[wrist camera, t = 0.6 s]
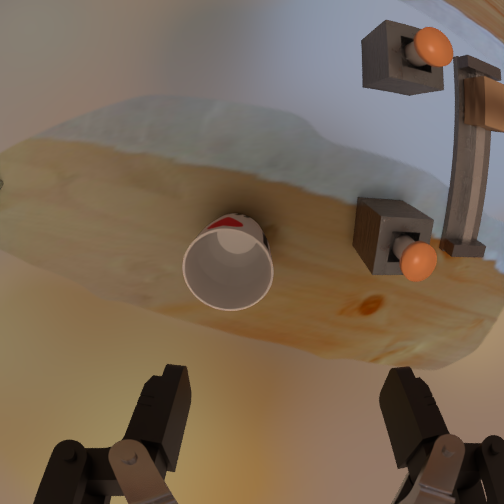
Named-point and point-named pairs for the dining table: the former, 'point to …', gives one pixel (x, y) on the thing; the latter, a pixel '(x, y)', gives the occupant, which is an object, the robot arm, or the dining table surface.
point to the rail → (467, 168)
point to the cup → (229, 263)
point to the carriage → (484, 103)
